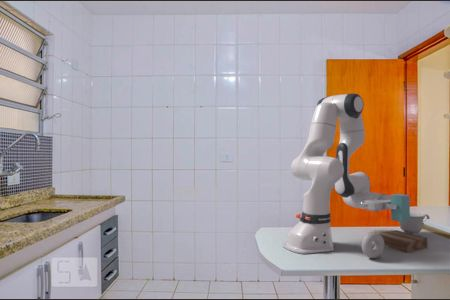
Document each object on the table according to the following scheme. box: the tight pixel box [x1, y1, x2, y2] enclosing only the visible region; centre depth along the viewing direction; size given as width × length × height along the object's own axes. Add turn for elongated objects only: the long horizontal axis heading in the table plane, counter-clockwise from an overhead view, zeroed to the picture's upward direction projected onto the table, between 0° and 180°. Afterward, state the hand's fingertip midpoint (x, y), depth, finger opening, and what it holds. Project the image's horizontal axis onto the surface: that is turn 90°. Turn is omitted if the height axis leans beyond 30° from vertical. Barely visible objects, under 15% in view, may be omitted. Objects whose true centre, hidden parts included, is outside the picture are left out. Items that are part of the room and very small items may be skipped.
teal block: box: [390, 193, 411, 223], centre depth 128 cm, size 5×5×11 cm
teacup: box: [398, 211, 431, 236], centre depth 145 cm, size 12×15×10 cm
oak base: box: [378, 230, 428, 253], centre depth 128 cm, size 14×14×4 cm
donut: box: [361, 231, 386, 259], centre depth 113 cm, size 10×4×10 cm, turn 109°
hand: (402, 206), depth 127 cm, fingers closed on teal block, 5 cm apart
